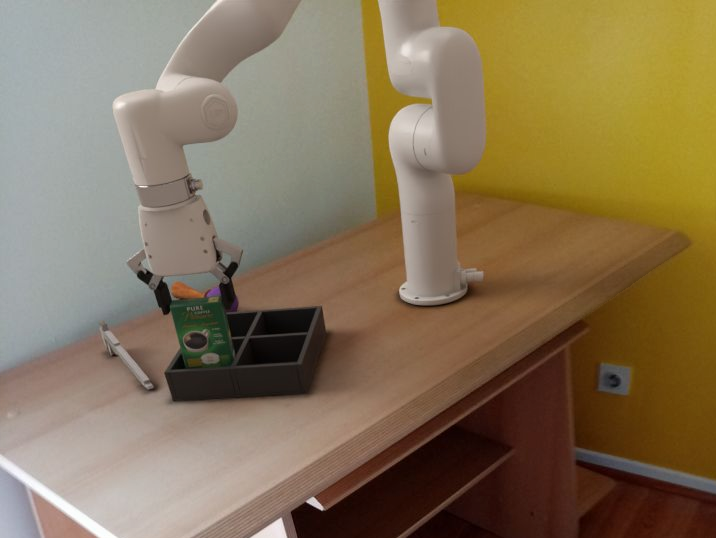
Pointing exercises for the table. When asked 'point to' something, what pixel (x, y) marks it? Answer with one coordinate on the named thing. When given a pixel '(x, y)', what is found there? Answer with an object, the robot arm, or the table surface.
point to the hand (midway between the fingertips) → (199, 308)
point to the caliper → (122, 354)
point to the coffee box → (203, 332)
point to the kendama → (198, 294)
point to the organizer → (257, 357)
